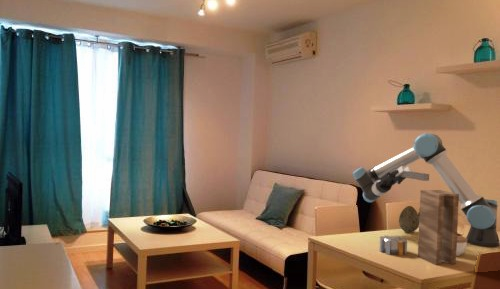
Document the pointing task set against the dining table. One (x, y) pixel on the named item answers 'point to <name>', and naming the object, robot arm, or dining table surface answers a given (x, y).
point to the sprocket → (393, 245)
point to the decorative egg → (409, 219)
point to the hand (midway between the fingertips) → (406, 168)
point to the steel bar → (414, 175)
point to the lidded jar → (461, 245)
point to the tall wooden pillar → (438, 226)
